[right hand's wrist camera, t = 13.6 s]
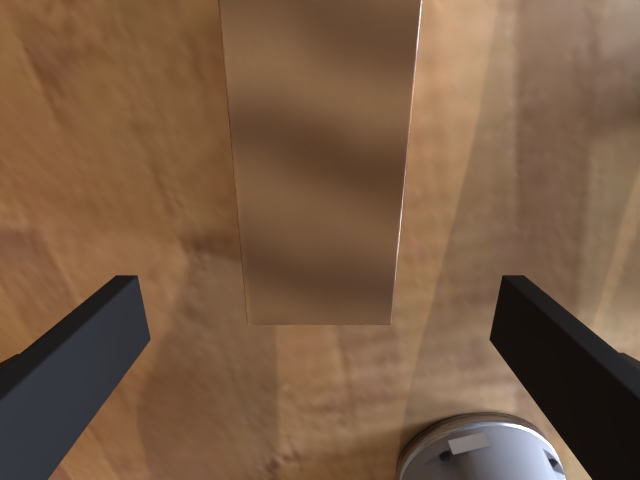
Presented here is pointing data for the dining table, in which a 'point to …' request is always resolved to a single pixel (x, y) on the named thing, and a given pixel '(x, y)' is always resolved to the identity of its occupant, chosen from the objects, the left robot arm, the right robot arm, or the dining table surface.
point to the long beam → (319, 153)
